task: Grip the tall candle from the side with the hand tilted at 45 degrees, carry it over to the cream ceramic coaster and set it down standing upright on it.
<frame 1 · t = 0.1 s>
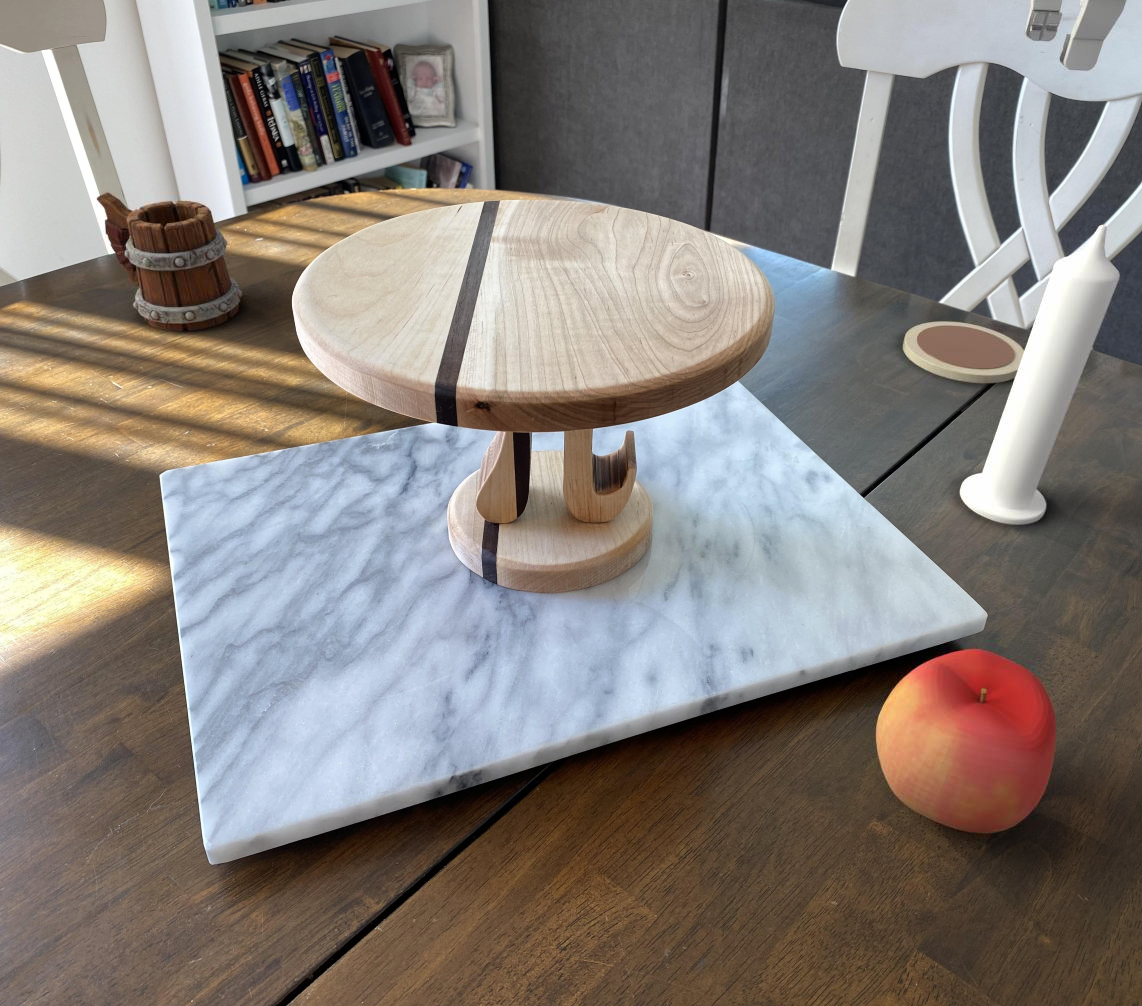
hand: (1055, 52, 62), 36 cm above the table, tool pointing down, fingers open, 8 cm apart
mug: (180, 312, 110), on the table
candle: (1000, 503, 83), on the table
apple: (940, 800, 58), on the table
coaster: (961, 356, 105), on the table
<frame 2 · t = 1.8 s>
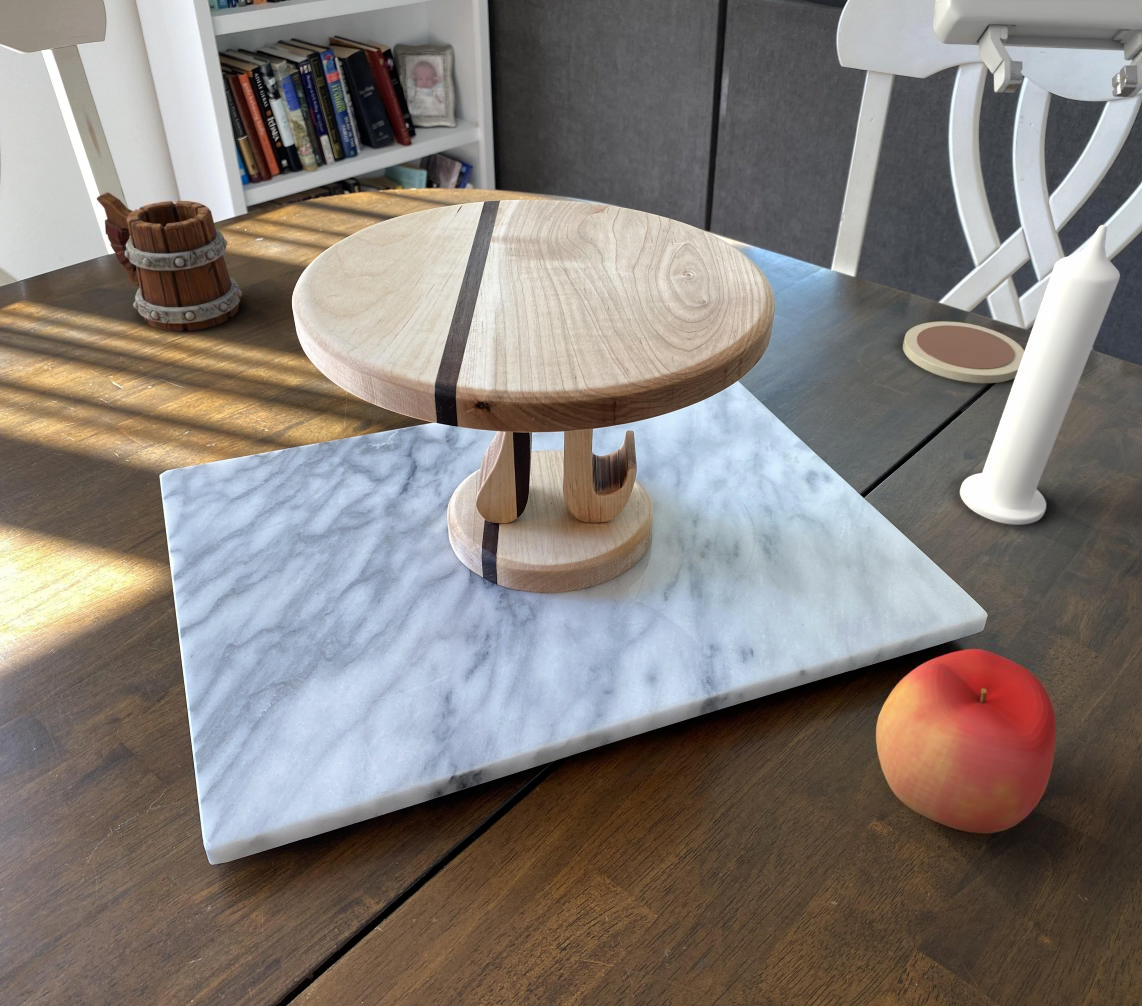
hand: (1068, 90, 74), 31 cm above the table, tool tilted 45°, fingers open, 8 cm apart
nothing on the table moved.
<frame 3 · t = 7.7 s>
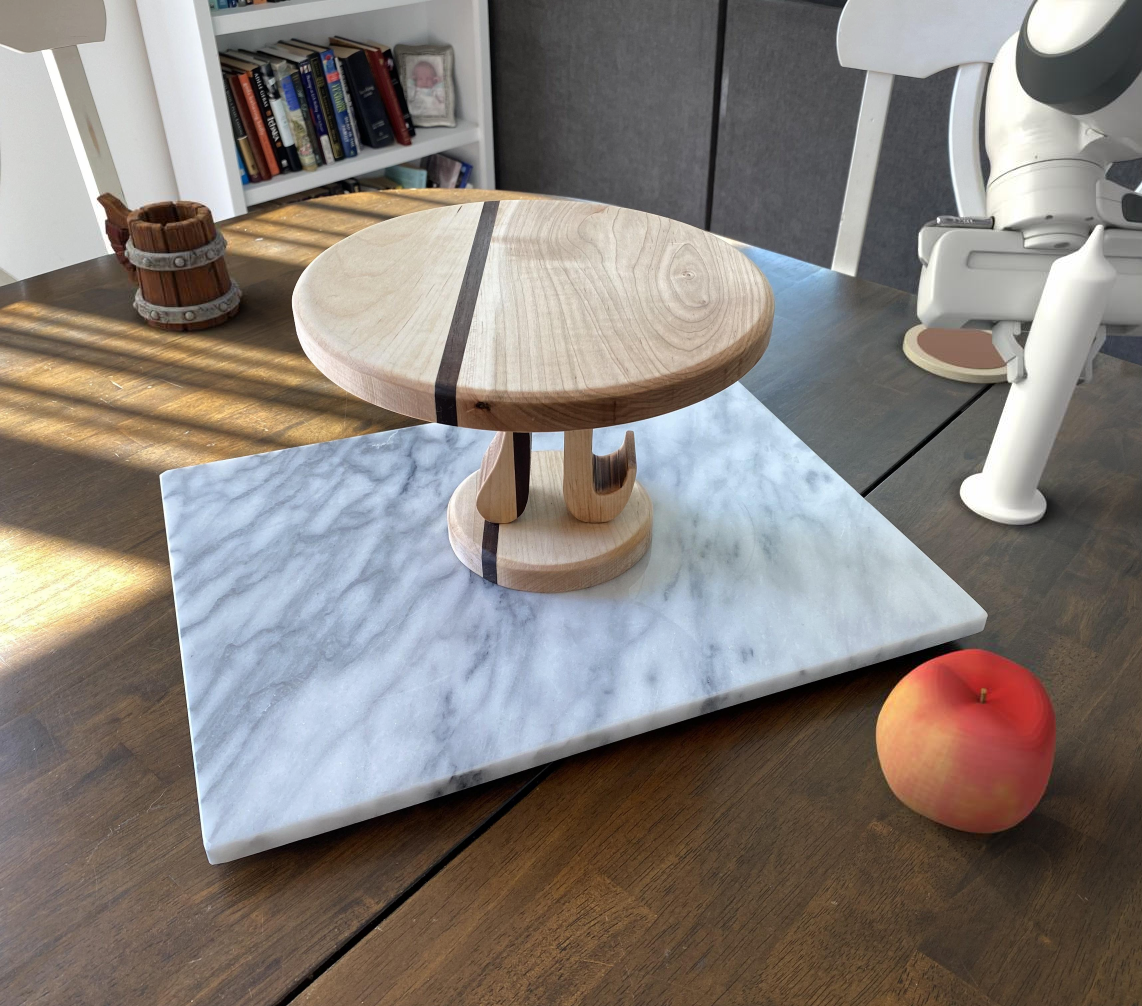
hand: (1049, 382, 75), 12 cm above the table, tool tilted 45°, fingers closed on candle, 3 cm apart
candle: (1000, 503, 83), on the table, touching gripper
everything else where it was.
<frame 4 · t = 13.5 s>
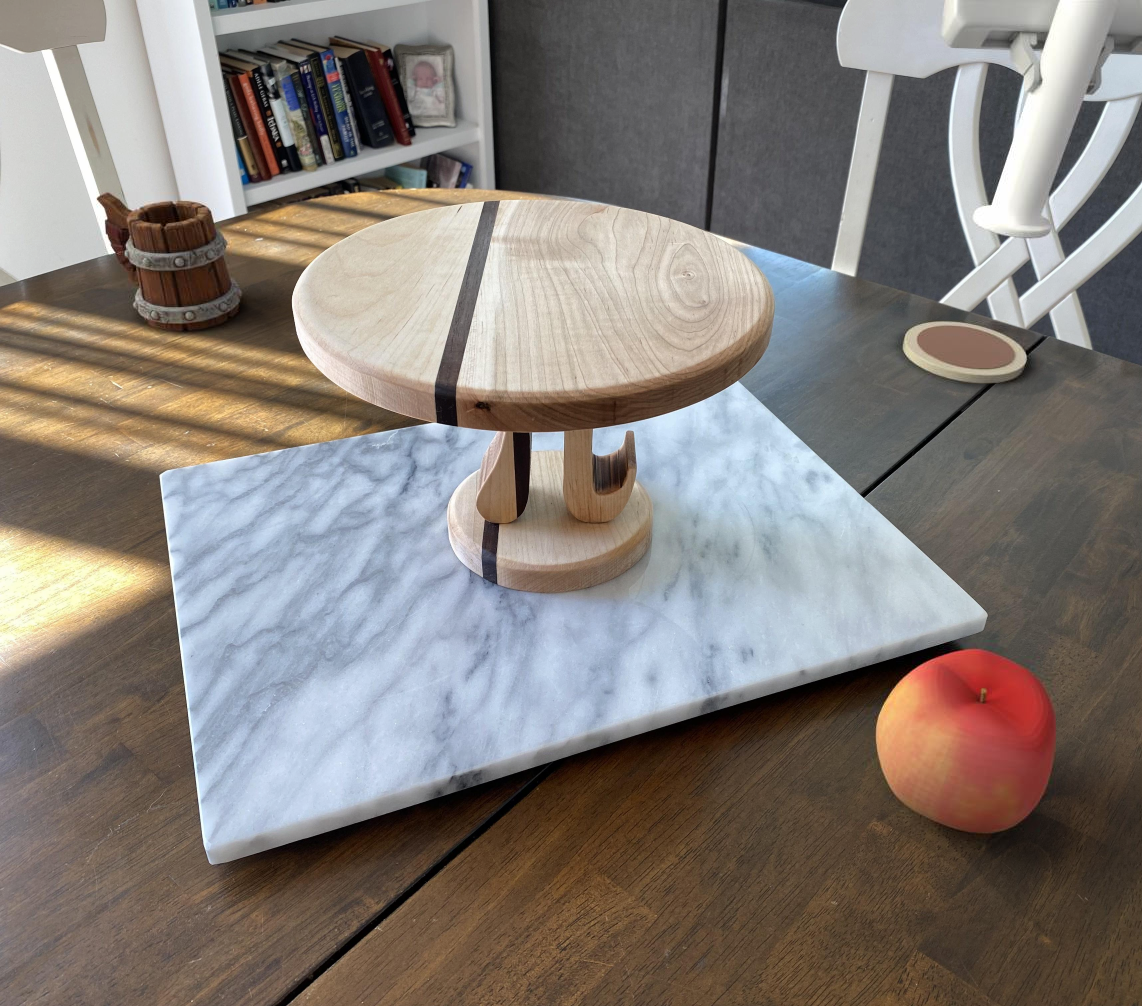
hand: (1062, 89, 82), 30 cm above the table, tool tilted 45°, fingers closed on candle, 3 cm apart
candle: (1009, 227, 90), point 17 cm above the table, touching gripper
everything else where it was.
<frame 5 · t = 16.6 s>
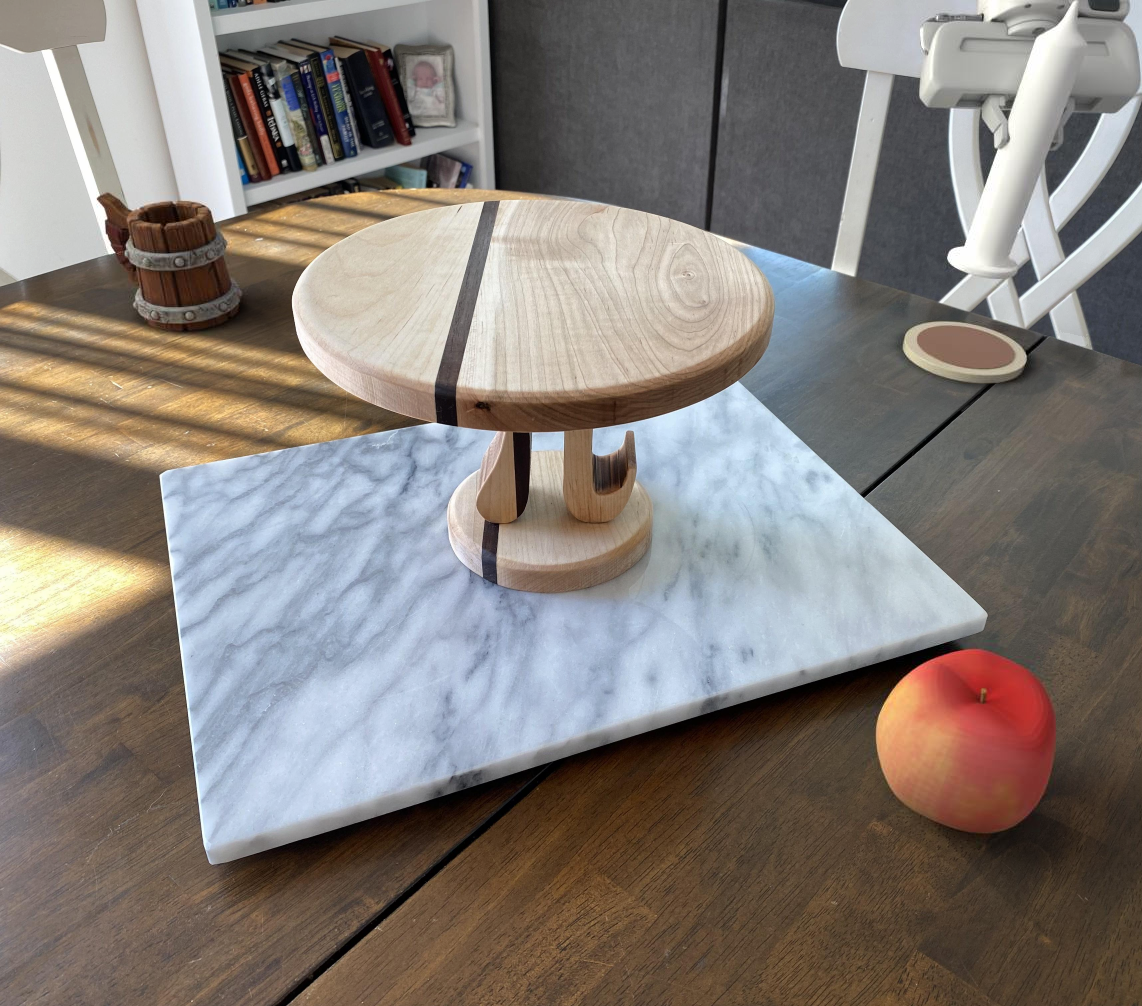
hand: (1029, 146, 91), 23 cm above the table, tool tilted 45°, fingers closed on candle, 3 cm apart
candle: (980, 267, 99), point 10 cm above the table, touching gripper
everything else where it was.
when the fingers open (15 cm above the table, at t = 19.5 s): candle drops 1 cm, resting on coaster.
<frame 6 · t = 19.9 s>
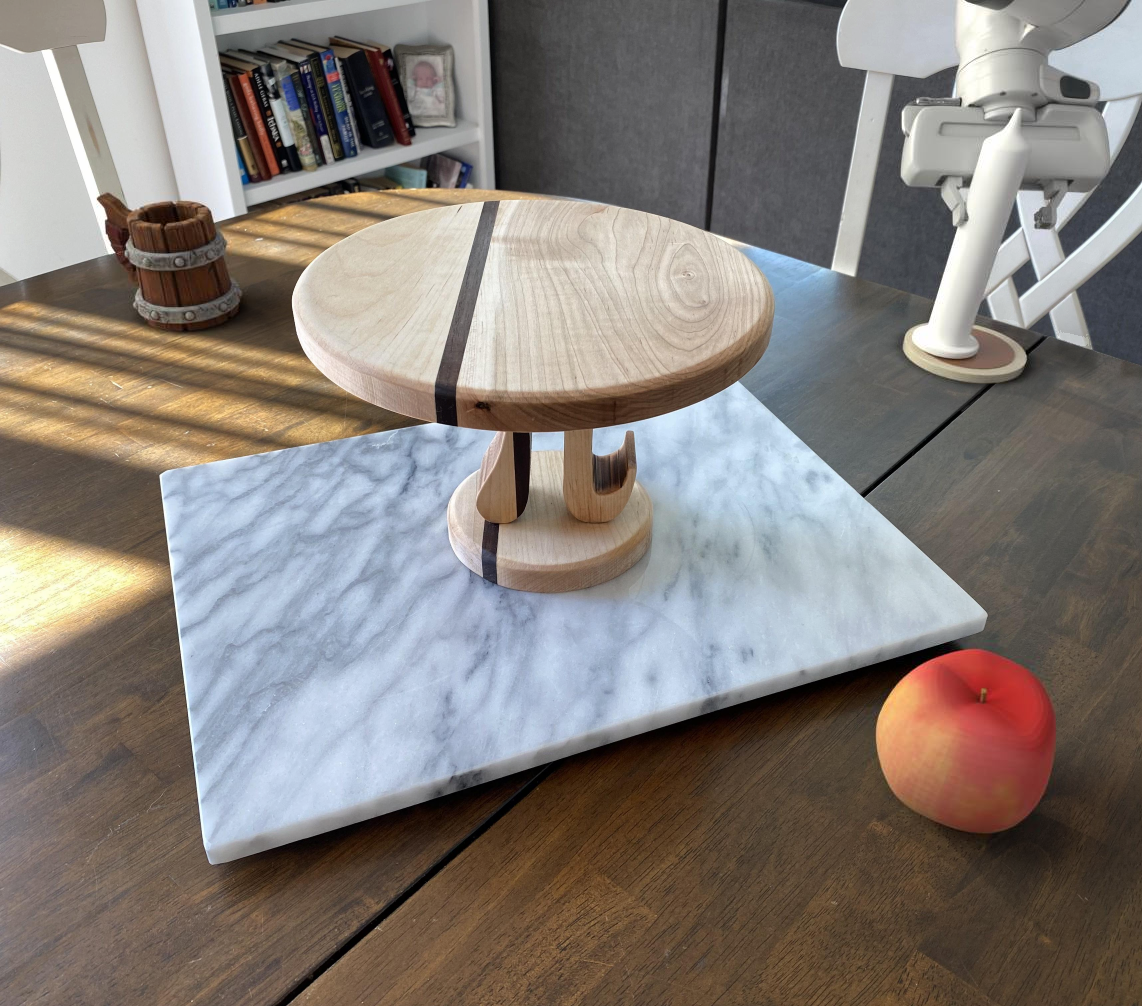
hand: (1004, 225, 95), 15 cm above the table, tool tilted 45°, fingers open, 7 cm apart
candle: (943, 346, 104), point 1 cm above the table, touching coaster, gripper
everything else where it was.
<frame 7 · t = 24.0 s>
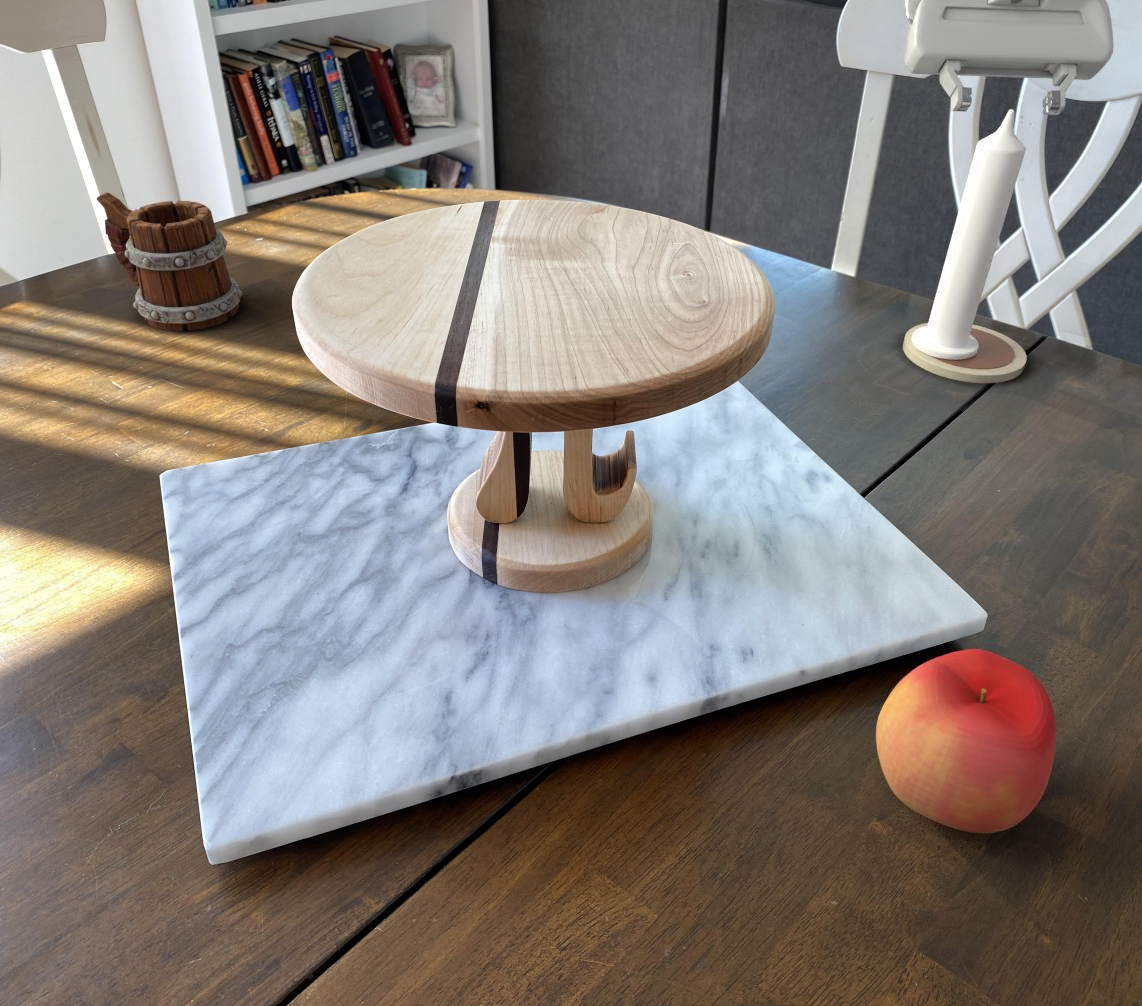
hand: (1007, 110, 96), 25 cm above the table, tool tilted 45°, fingers open, 8 cm apart
candle: (943, 347, 104), point 1 cm above the table, touching coaster
everything else where it was.
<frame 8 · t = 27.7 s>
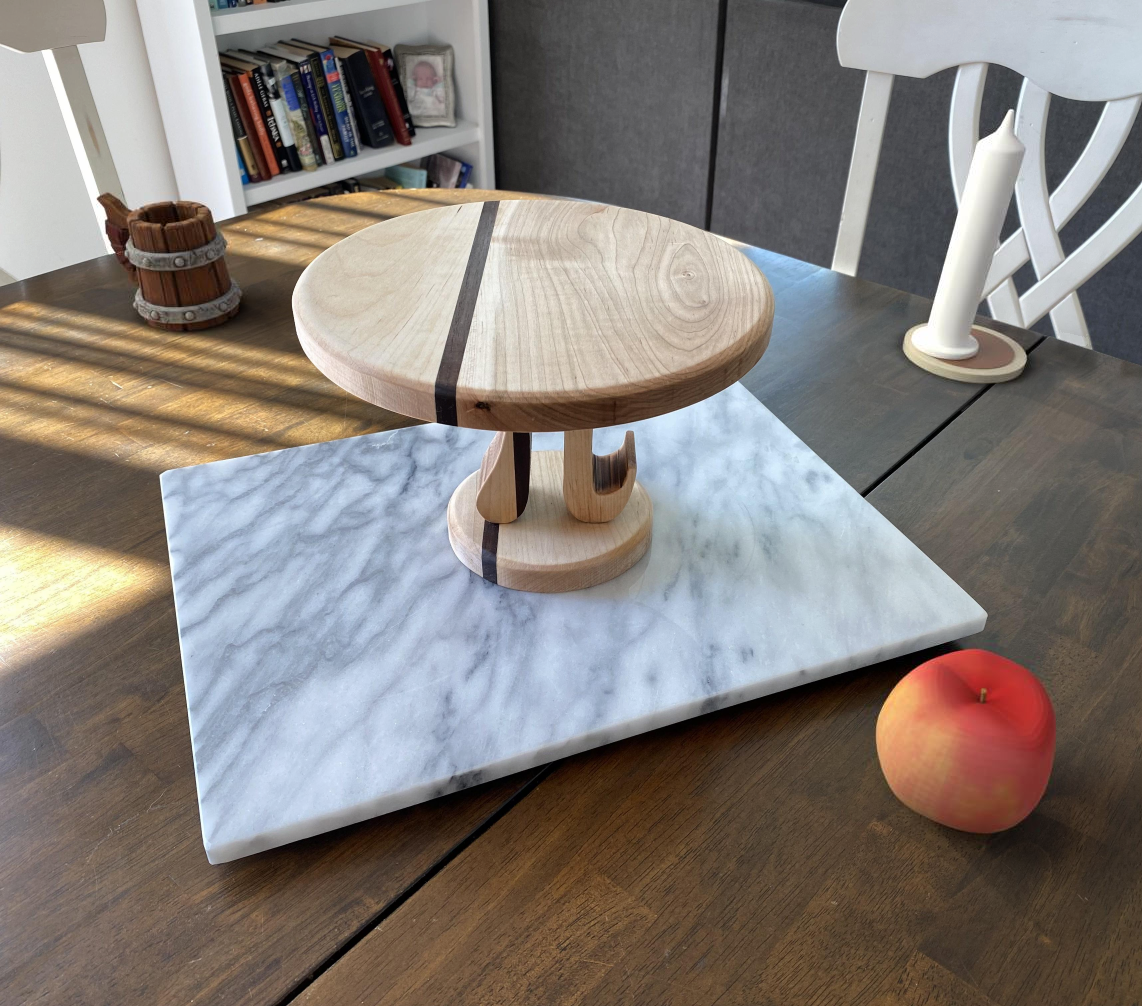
nothing on the table moved.
at the end: candle inside the target area on the coaster (2.4 cm from its centre), point 1.1 cm above the coaster's base; candle tilted 0°; the gripper is holding nothing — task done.
